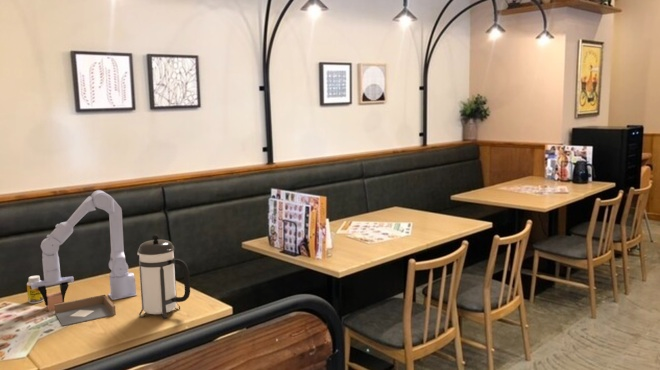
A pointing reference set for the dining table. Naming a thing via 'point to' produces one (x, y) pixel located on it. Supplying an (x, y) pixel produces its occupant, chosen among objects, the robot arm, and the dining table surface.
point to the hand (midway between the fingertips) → (54, 303)
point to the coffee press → (160, 277)
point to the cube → (54, 300)
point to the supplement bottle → (34, 291)
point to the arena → (84, 310)
